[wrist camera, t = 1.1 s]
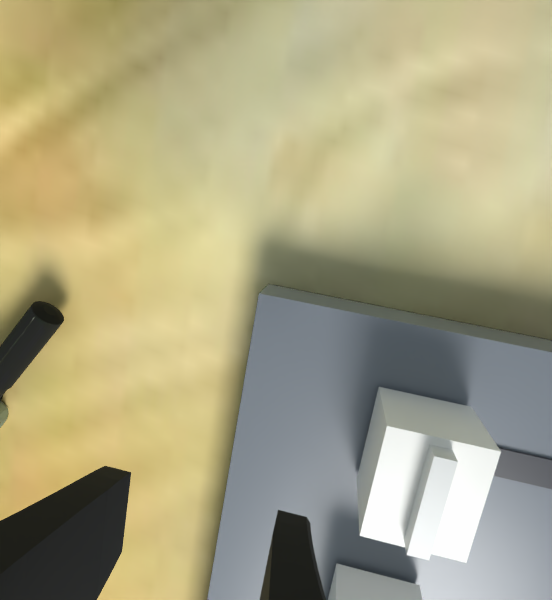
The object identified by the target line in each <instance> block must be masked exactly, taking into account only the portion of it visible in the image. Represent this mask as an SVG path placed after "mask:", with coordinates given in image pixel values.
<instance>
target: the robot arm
mask: <svg viewBox="0 0 552 600" xmlns="http://www.w3.org/2000/svg"><path fill="white" fill-rule="evenodd" d="M130 477H131V472H127V471H123V470H119V469H115V468H111V467H108V466H104V467H102V468H100V469H98V470H96V471H94V472H92V473H90V474H88V475H86V476H85V477H83V478H81V479H79V480H77V481H75V482H74V483H72V484H70V485H68V486H66V487H64V488H63V489H61V490H59V491H57V492H55V493H53V494H51V495H50V496H48V497H46V498H44V499H42V500H40V501H38V502H36V503H34V504H33V505H31V506H29V507H27V508H25V509H23V510H21V511H19V512H17V513H15V514H13V515H11V516H9V517H7V518H5V519H3V520H1V521H0V600H97V598H98V596H99V594H100V593H101V591H102V589H103V587H104V585H105V583H106V581H107V580H108V578H109V576H110V574H111V572H112V570H113V568H114V566H115V564H116V562H117V560H118V558H119V556H120V554H121V552H122V546H123V537H124V529H125V520H126V511H127V503H128V494H129V486H130ZM260 600H326V597H325V593H324V590H323V586H322V583H321V579H320V575H319V571H318V567H317V562H316V558H315V553H314V548H313V542H312V535H311V523H310V522H309V520H308V518H307V517H305V516H301V515H297V514H293V513H289V512H285V511H281V510H278V512H277V517H276V521H275V526H274V530H273V535H272V540H271V545H270V550H269V555H268V560H267V565H266V570H265V575H264V580H263V585H262V590H261V595H260Z"/></svg>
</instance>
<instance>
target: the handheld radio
mask: <svg viewBox="0 0 552 600" xmlns="http://www.w3.org/2000/svg"><path fill="white" fill-rule="evenodd" d="M63 321H64V317H63V315H62V313H61V312H60V311H59V310H58V309H57V308H56V307H54V306H53V305H51V304H49V303H46V302H41V301H38V302H34V303H33V304H32V305H31V307H30V308H29V309H28V311H27V312H26V313H25V315H24V316H23V317H22V319H21V320H20V321H19V323H18V324H17V325H16V327H15V328H14V329H13V330H12V332H11V333H10V334H9V336H8V337H7V338H6V340H5V341H4V342H3V344H2V345H1V346H0V427H1V426H2V425H3V424H4V423H5V421H6V419H7V417H8V408H7V407H6V405H5V404H4V403H3V402H2V401H1V399H2V397H3V394H4V393H5V391H6V390H7V389H9V388H11V387H12V386H13V384H14V383H15V382H16V380H17V379H18V378H19V377H20V375H21V374H22V373H23V372H24V370H25V369H26V368H27V367H28V365H29V364H30V363H31V362H32V360H33V359H34V358H35V357H36V355H37V354H38V353H39V352H40V350H41V349H42V348H43V347H44V345H45V344H46V343H47V342H48V340H49V339H50V338H51V337H52V335H53V334H54V333H55V332H56V330H57V329H58V328H59V327H60V325H61V324H62V323H63Z"/></svg>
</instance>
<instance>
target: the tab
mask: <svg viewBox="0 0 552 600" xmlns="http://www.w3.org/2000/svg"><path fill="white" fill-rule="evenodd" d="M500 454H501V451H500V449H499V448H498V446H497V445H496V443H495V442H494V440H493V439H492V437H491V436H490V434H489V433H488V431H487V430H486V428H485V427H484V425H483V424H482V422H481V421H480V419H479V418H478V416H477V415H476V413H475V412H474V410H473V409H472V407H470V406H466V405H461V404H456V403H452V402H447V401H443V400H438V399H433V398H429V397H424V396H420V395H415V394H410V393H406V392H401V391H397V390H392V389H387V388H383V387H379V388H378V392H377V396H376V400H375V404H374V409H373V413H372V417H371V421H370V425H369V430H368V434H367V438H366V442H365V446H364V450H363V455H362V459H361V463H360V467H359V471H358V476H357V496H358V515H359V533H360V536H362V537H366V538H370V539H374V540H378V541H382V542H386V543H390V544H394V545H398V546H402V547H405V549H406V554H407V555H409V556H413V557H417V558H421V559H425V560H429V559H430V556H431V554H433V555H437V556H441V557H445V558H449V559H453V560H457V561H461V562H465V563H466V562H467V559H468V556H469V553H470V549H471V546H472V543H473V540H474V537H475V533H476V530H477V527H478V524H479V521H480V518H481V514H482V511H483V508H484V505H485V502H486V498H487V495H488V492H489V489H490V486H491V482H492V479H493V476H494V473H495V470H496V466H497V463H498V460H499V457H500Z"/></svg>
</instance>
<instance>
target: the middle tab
mask: <svg viewBox="0 0 552 600" xmlns="http://www.w3.org/2000/svg"><path fill="white" fill-rule="evenodd" d="M328 600H422V595H421V590H420V585H417V584H413V583H410V582H406V581H402V580H398V579H394V578H390V577H387V576H383V575H379V574H375V573H371V572H368V571H364V570H360V569H356V568H352V567H349V566H345V565H341V564H337V563H336V567H335V572H334V576H333V580H332V584H331V588H330V593H329V597H328Z"/></svg>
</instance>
